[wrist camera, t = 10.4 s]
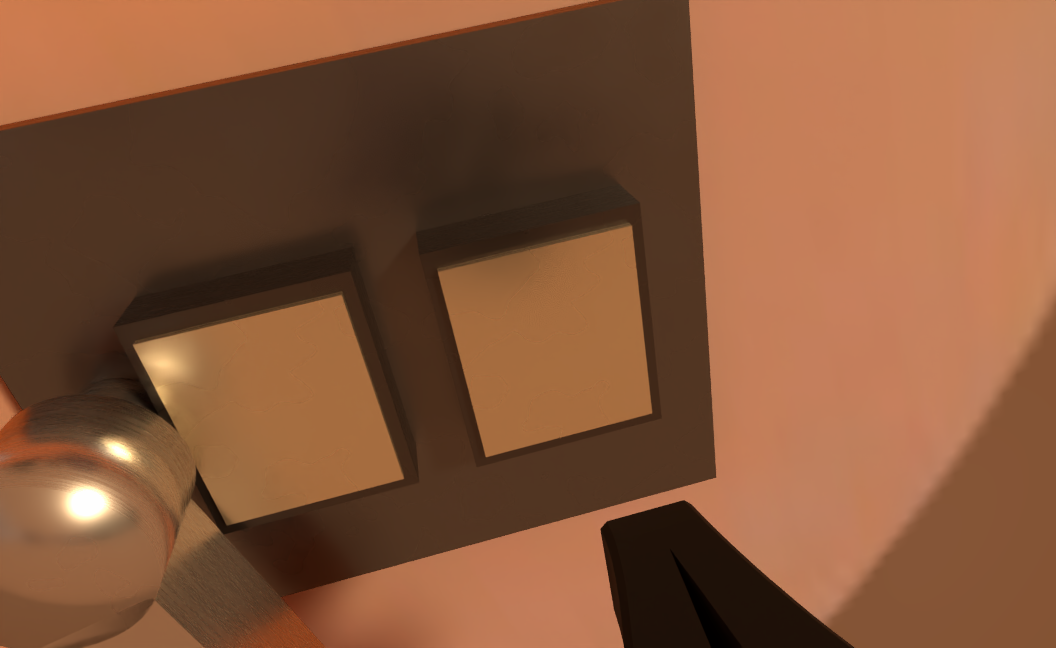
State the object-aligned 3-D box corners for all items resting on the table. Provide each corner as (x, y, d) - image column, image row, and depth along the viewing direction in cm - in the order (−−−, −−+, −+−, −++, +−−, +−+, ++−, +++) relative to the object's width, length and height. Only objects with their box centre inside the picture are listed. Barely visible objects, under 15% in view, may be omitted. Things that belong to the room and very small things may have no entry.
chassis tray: (172, 601, 21) (146, 681, 19) (-108, 148, 15) (-201, 183, 12) (703, 457, 23) (740, 515, 20) (670, -15, 16) (721, -12, 14)
